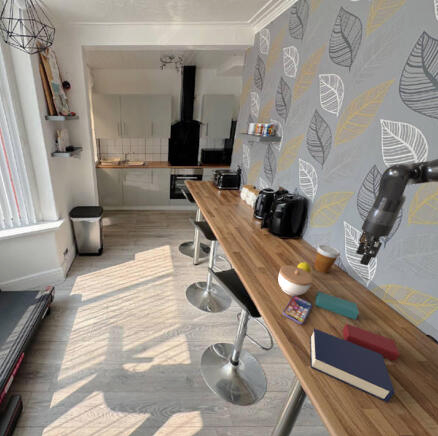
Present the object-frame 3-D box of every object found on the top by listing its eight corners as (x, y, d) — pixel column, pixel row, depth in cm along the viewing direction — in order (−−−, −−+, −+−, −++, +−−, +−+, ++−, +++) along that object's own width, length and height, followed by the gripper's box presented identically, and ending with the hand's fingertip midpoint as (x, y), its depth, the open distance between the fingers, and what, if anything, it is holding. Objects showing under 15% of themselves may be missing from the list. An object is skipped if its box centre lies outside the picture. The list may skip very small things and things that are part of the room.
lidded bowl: (284, 300, 100) (292, 279, 95) (269, 281, 111) (275, 261, 107) (313, 300, 100) (322, 279, 96) (295, 281, 112) (302, 262, 107)
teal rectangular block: (352, 310, 96) (356, 303, 95) (355, 319, 91) (359, 313, 90) (315, 297, 102) (317, 291, 101) (315, 306, 97) (318, 299, 96)
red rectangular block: (389, 347, 81) (394, 340, 79) (394, 361, 76) (399, 354, 74) (342, 330, 87) (346, 323, 85) (344, 342, 82) (348, 335, 80)
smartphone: (312, 305, 97) (302, 325, 88) (293, 296, 102) (281, 314, 92) (313, 304, 97) (303, 324, 87) (294, 294, 102) (282, 312, 92)
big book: (376, 364, 75) (382, 354, 73) (387, 402, 65) (395, 392, 63) (309, 337, 83) (314, 328, 81) (310, 367, 73) (315, 358, 71)
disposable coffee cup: (306, 265, 124) (313, 245, 120) (319, 262, 127) (326, 243, 122) (323, 276, 116) (331, 255, 111) (336, 273, 119) (345, 253, 114)
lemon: (296, 271, 119) (301, 258, 116) (309, 276, 115) (314, 263, 112) (292, 275, 116) (297, 262, 113) (305, 281, 112) (310, 267, 109)
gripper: (400, 230, 76) (378, 271, 82) (388, 216, 87) (370, 253, 94) (370, 224, 79) (351, 264, 86) (362, 211, 91) (346, 248, 97)
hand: (361, 258), depth 90 cm, fingers open, 8 cm apart
